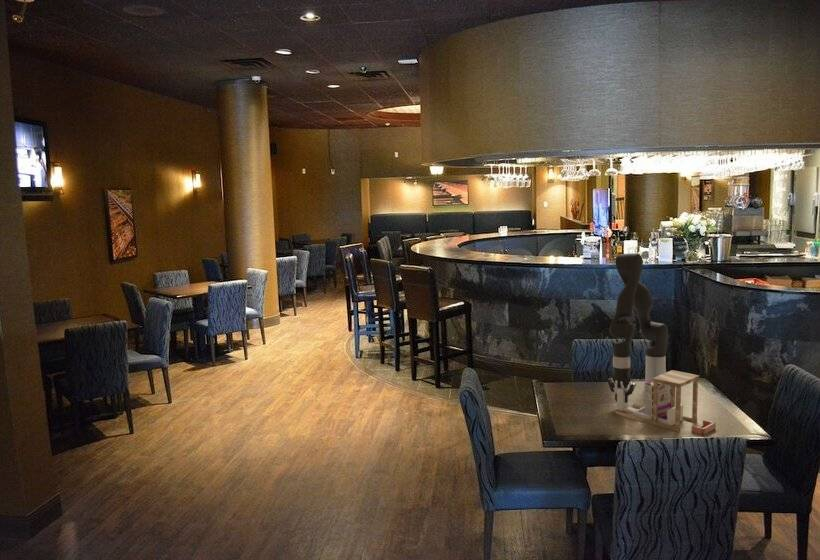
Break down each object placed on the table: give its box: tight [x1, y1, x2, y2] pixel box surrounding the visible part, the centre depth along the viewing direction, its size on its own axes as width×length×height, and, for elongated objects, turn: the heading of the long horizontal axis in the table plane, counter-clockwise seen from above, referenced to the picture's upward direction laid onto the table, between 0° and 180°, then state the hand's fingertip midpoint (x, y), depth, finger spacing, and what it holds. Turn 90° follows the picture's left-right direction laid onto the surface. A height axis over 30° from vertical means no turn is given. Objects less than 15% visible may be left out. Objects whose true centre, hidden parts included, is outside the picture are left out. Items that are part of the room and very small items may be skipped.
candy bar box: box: [644, 381, 671, 420], centre depth 291 cm, size 11×5×16 cm, turn 118°
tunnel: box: [614, 369, 700, 432], centre depth 292 cm, size 16×30×20 cm, turn 40°
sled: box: [616, 386, 684, 426], centre depth 295 cm, size 11×27×10 cm, turn 40°
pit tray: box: [691, 419, 717, 437], centre depth 277 cm, size 10×5×3 cm, turn 130°
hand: (621, 402), depth 306 cm, fingers open, 3 cm apart
